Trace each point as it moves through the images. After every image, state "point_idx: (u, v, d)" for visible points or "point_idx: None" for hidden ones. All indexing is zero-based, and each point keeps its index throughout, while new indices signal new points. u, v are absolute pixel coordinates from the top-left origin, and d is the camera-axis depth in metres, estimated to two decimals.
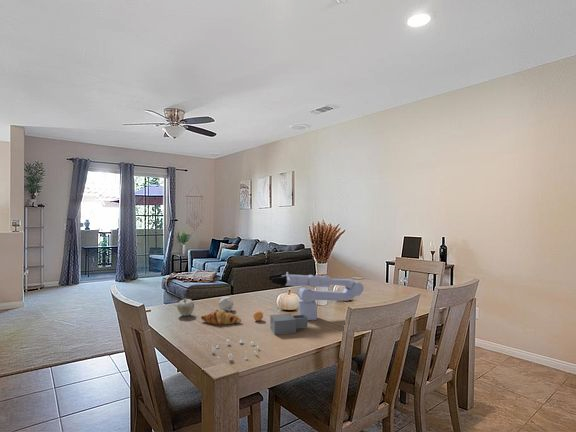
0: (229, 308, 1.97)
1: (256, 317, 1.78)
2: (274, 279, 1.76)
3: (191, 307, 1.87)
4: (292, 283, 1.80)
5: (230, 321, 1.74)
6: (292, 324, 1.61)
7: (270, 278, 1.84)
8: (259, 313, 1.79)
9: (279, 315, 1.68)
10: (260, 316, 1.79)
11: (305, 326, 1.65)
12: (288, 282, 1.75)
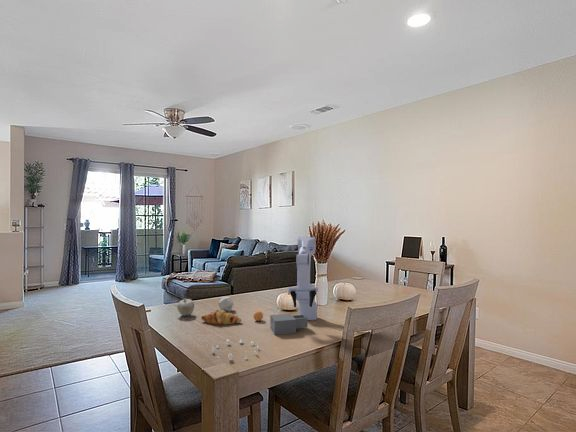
0: (229, 308, 1.97)
1: (256, 317, 1.78)
2: None
3: (191, 307, 1.87)
4: None
5: (230, 321, 1.74)
6: (292, 324, 1.61)
7: None
8: (259, 313, 1.79)
9: (279, 315, 1.68)
10: (260, 316, 1.79)
11: (305, 326, 1.65)
12: None
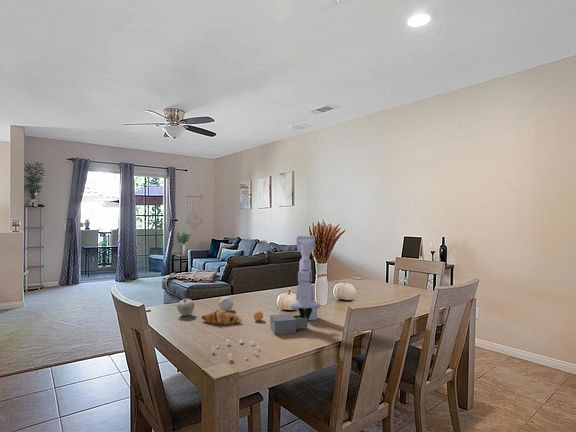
0: (229, 308, 1.97)
1: (256, 317, 1.78)
2: None
3: (191, 307, 1.87)
4: None
5: (230, 321, 1.74)
6: (292, 324, 1.61)
7: None
8: (259, 313, 1.79)
9: (279, 315, 1.68)
10: (260, 316, 1.79)
11: (305, 326, 1.65)
12: None
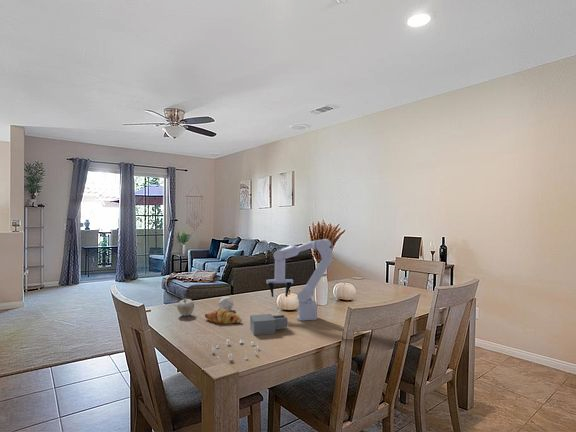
0: (229, 308, 1.97)
1: None
2: None
3: (191, 307, 1.87)
4: None
5: (230, 321, 1.75)
6: (272, 325, 1.61)
7: None
8: None
9: (259, 315, 1.67)
10: None
11: (285, 326, 1.65)
12: None
